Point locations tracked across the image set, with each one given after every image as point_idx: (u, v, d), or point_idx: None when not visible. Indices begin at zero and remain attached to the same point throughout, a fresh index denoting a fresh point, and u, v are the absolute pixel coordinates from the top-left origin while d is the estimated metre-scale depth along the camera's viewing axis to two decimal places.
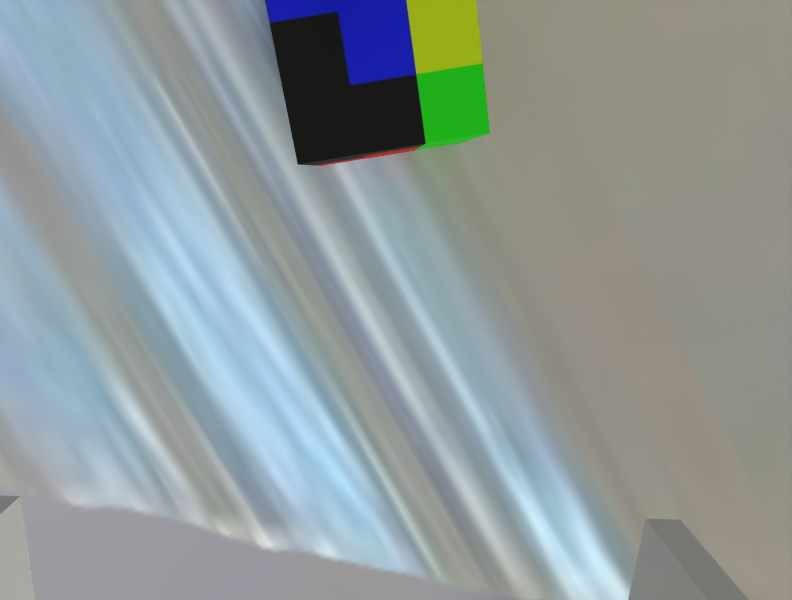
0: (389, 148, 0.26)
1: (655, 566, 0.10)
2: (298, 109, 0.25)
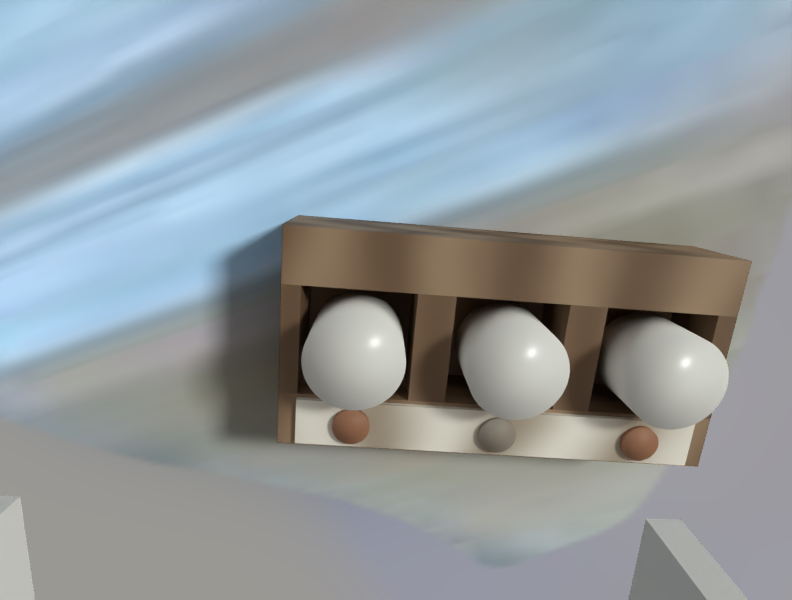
0: None
1: (655, 566, 0.10)
2: None
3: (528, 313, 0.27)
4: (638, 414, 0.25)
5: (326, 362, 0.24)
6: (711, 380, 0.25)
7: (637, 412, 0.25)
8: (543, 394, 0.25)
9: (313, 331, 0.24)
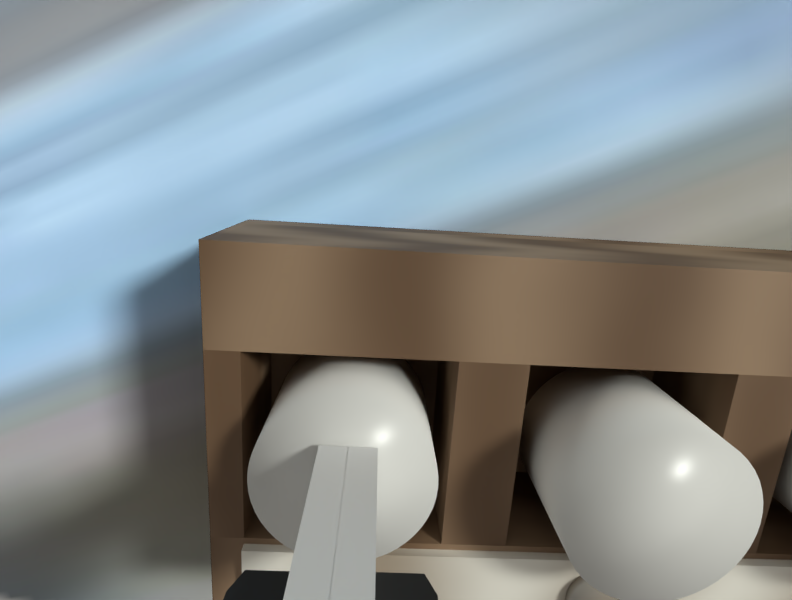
0: None
1: None
2: None
3: (658, 390, 0.15)
4: None
5: (293, 484, 0.13)
6: None
7: None
8: (707, 556, 0.13)
9: (267, 431, 0.13)
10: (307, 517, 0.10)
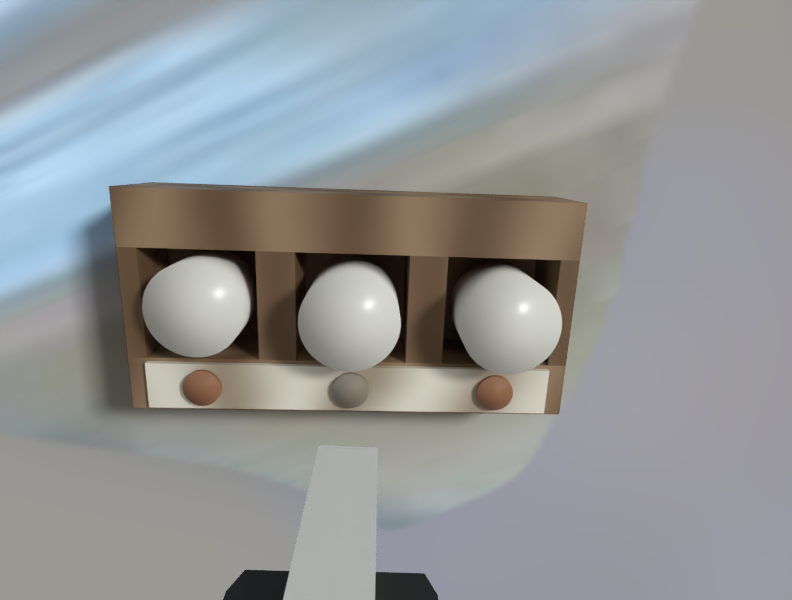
0: None
1: None
2: None
3: (370, 266, 0.27)
4: (475, 360, 0.25)
5: (166, 312, 0.25)
6: (544, 322, 0.25)
7: (474, 358, 0.25)
8: (377, 344, 0.25)
9: (150, 282, 0.25)
10: (307, 517, 0.10)
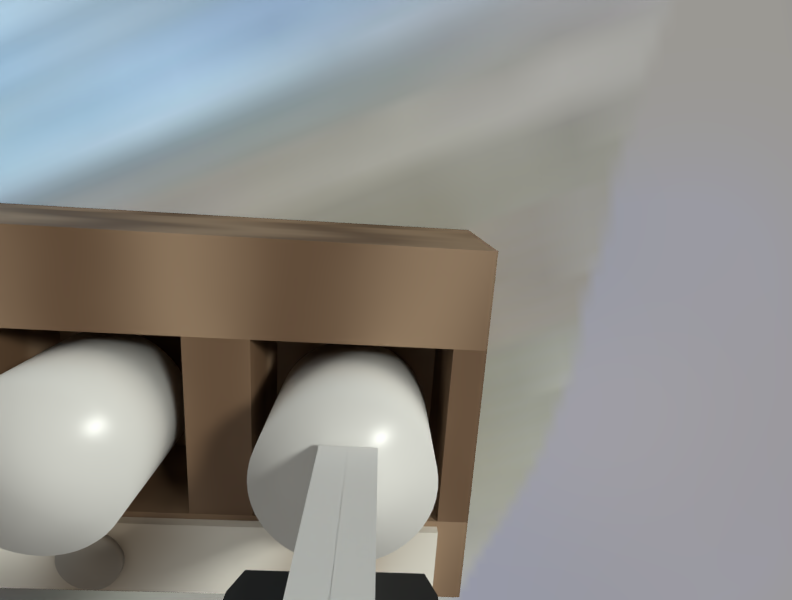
0: None
1: None
2: None
3: (112, 352, 0.15)
4: (279, 539, 0.14)
5: None
6: (405, 477, 0.13)
7: (276, 536, 0.14)
8: (87, 509, 0.13)
9: None
10: (307, 517, 0.10)
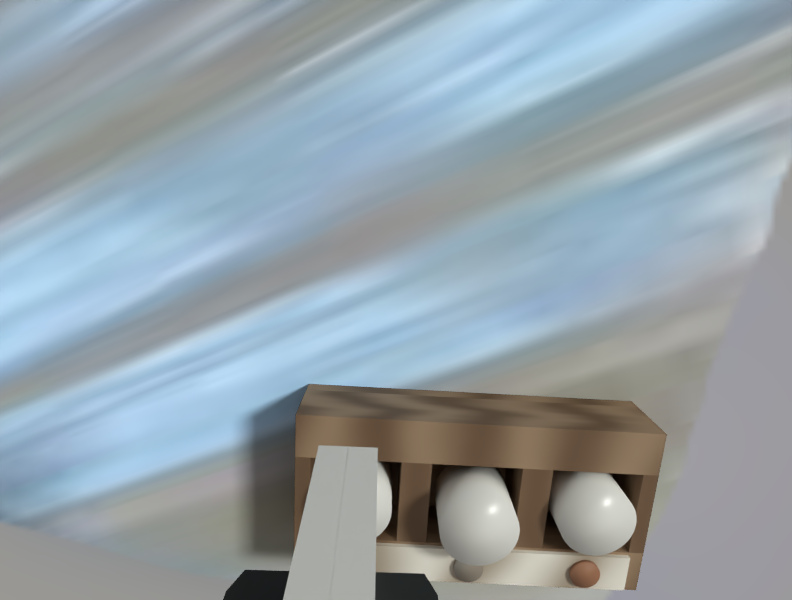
0: None
1: None
2: None
3: (490, 474, 0.33)
4: (569, 544, 0.33)
5: None
6: (623, 520, 0.33)
7: (568, 543, 0.33)
8: (499, 546, 0.32)
9: None
10: (307, 517, 0.10)
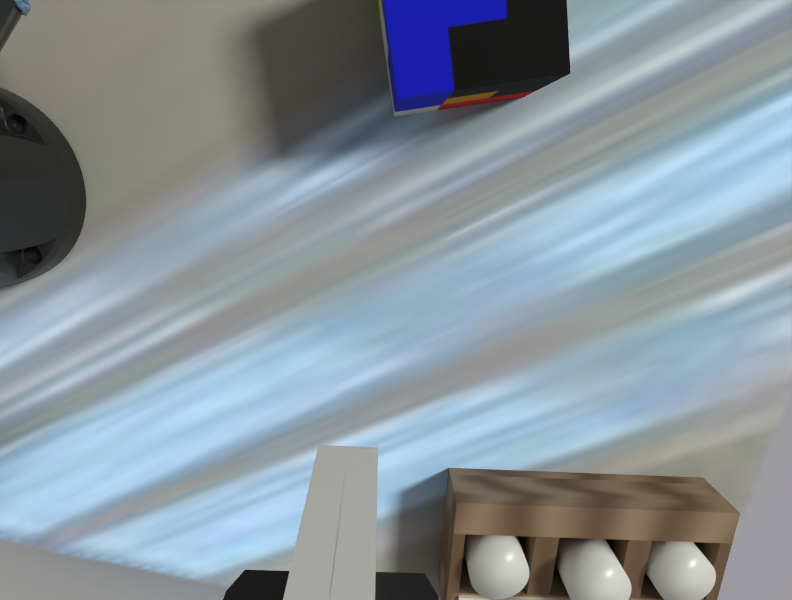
0: None
1: None
2: (524, 69, 0.29)
3: (602, 544, 0.43)
4: (663, 597, 0.43)
5: (484, 575, 0.42)
6: (705, 578, 0.43)
7: (662, 596, 0.43)
8: None
9: (477, 559, 0.42)
10: (307, 517, 0.10)
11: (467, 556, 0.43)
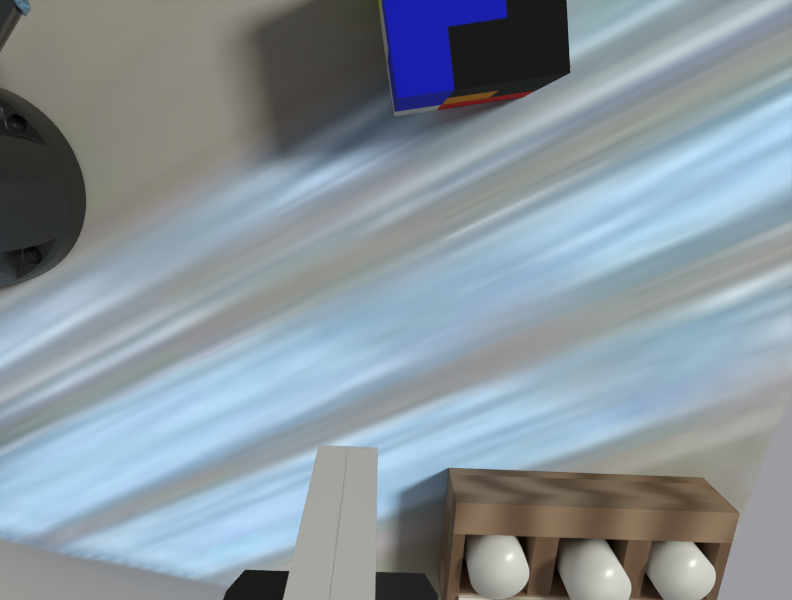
0: None
1: None
2: (524, 68, 0.29)
3: (602, 544, 0.43)
4: (663, 597, 0.43)
5: (483, 574, 0.42)
6: (705, 578, 0.43)
7: (662, 596, 0.43)
8: None
9: (477, 559, 0.42)
10: (307, 517, 0.10)
11: (467, 556, 0.43)
